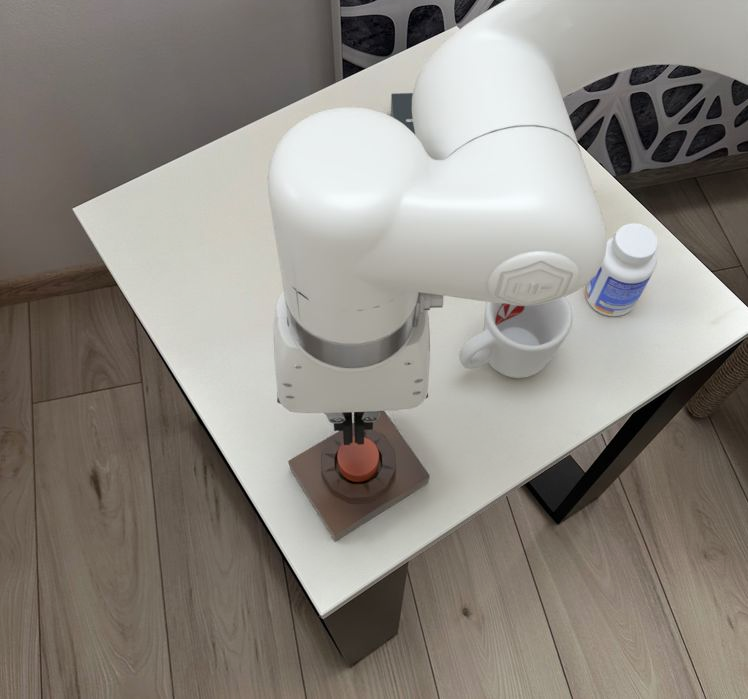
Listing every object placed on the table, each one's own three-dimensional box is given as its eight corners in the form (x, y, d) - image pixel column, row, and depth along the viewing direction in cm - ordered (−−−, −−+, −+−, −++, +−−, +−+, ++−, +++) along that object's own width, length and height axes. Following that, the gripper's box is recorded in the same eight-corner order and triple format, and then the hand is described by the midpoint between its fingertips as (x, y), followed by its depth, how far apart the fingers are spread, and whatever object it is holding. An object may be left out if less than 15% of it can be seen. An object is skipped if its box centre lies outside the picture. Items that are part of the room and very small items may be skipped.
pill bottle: (646, 303, 80) (679, 247, 71) (606, 326, 78) (635, 273, 70) (612, 266, 82) (640, 208, 73) (572, 288, 81) (596, 231, 72)
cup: (477, 414, 74) (488, 377, 67) (436, 349, 77) (442, 307, 70) (570, 368, 76) (590, 327, 69) (526, 307, 80) (541, 262, 72)
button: (364, 436, 69) (364, 428, 67) (386, 468, 67) (387, 461, 66) (330, 456, 68) (329, 449, 66) (351, 490, 66) (351, 483, 65)
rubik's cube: (543, 245, 83) (554, 213, 78) (513, 210, 86) (521, 177, 81) (583, 224, 85) (596, 191, 80) (552, 190, 87) (563, 156, 82)
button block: (380, 415, 74) (381, 398, 70) (428, 483, 70) (431, 468, 67) (290, 469, 71) (285, 453, 67) (334, 542, 68) (333, 529, 64)
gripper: (473, 246, 46) (443, 381, 62) (223, 253, 46) (258, 387, 62) (488, 356, 43) (452, 469, 59) (217, 365, 42) (256, 476, 58)
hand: (353, 426), depth 60 cm, fingers closed
